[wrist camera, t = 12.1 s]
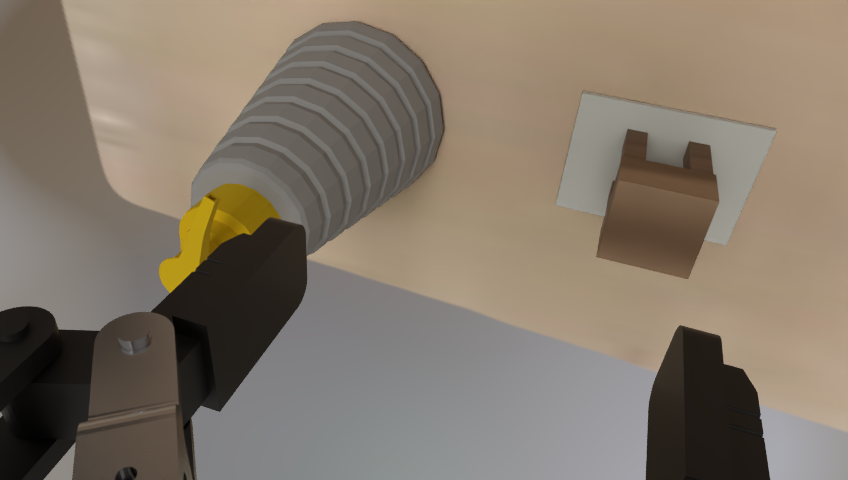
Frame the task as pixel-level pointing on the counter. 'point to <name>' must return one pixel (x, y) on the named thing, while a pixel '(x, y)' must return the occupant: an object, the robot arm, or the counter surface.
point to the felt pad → (660, 153)
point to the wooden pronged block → (659, 209)
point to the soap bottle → (315, 143)
